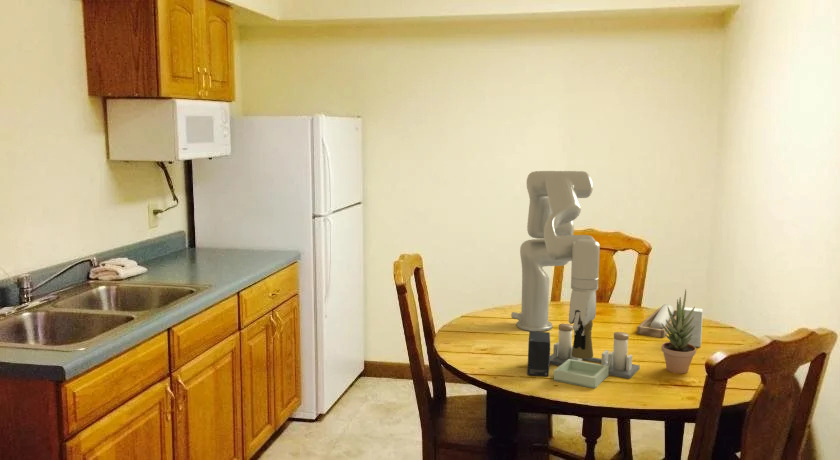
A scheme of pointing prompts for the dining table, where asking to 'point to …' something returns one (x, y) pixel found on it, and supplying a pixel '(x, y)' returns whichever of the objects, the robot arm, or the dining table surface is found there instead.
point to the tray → (581, 373)
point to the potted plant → (678, 341)
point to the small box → (538, 353)
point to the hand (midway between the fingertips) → (582, 345)
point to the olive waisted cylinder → (588, 348)
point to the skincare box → (698, 326)
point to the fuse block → (615, 360)
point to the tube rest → (646, 330)
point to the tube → (662, 317)
